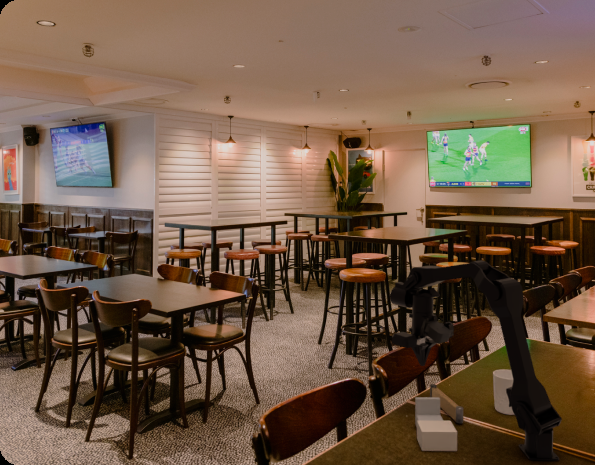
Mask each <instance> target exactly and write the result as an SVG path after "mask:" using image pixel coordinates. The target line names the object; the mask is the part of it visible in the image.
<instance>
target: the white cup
mask: <svg viewBox="0 0 595 465" xmlns="http://www.w3.org/2000/svg"><path fill="white" fill-rule="evenodd" d="M492 377H493V378H492V380H493V381H492V382H493V399H494V408H495V411H497V412H498V413H501V414H504V415H510V416H512V415H513V416H515V414H514V413H513V410H512V407H509V399H508V396H507V393H506V389H507V388H510V387H512V384H513V376H512V372H511V369H503V368H502V369H496V370H493V371H492Z"/></svg>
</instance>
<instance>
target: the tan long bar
mask: <svg viewBox="0 0 595 465" xmlns="http://www.w3.org/2000/svg"><path fill="white" fill-rule="evenodd" d="M429 387H430V388H429V389H430V390H429V397H439V398H440V409H442V411H444V412H445V413H446V414H447V415H448V416H449V417H450V418H451V419H452V420H453V421H455V423H457V424H463V423H464V407H463V406H459V405H458V404H457V403H456V402H455V401H454V400H452V399H451V398H450V397H449V396H448V395H446V394H445V393H444V392H443V391H442V390H441V389H439V388H438V387H437V384H435V383H431V384H430V385H429Z"/></svg>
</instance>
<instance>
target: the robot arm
mask: <svg viewBox="0 0 595 465" xmlns="http://www.w3.org/2000/svg"><path fill="white" fill-rule="evenodd" d="M467 278H468V279H469V278H471V279H472V280H473V282H474V284H475V286H476V288H477V290H479V292H481V293H482V294H483V295H484V296H485V298H486V301H487V303H488V305H489V307H490V309H491V310H492V312H493V314H495V316H496V317H497V318H498V321H499V324H500V330H501V333H502V336H503V337H502V338H503V341H504V345H505V350H506V353H507V359H508V363H509V368H510V370H511V372H512V376H513V384H512V387H510V388H507V389H506V393H507V396H508V399H509V407H512V410H513V413H514V414H515V415H514V416H515V419H516V421H517V425H518V429H520V430H523V431H524V444H523V443H520V444H518V447H519V449H520V450H521V451H522V452H523V454H524V455H525V457H526V458H528V459H529V460H530V461H559V460H560V457H559V456H558V455H557V454H556V453H555V452H554V450H553V448H554V428H556V427H559V426H560V424H561V423H562V421H563V420H562V417H561V415H560V413H558V411H557V410H556V409H555V407H554V406H553V404H552V403H551V402H552V401H551V400H550V398H549V394H548V393H547V390H546V388H545V386H544V384H543V383H541V382H540V380H539V379H538V378H537V375H536V372H535V367H534V364H533V360H532V356H531V351H530V348H529V343H528V339H527V335H526V332H525V327H524V322H523V319H522V312H523V306H524V291H523V290H524V289H523V286H522V284H521V283H520V282H519V280H516V279H515V278H513V277H510V276H509V275H508V274H506V273H505V272H502V271H501V270H499V269H497V268H496V267H493V266H492V265H491V264H489V262H487V261H486V260H476V261H474V260H473V261H470V262H469V263H463V264H462V263H461V264H454V265H449V266H439V265H438V266H437V265H424V266H416V267H412V268H410V270H409V273H408V276H407V277H406V279H405V280H404V282H402V281H398V282H394V287H393V288H392V289H391V291H390V294H389V300H390V302H391V303H392V305H395V306H400V307H404V308H407V309H411V308H412V309H411V310H412V311H411V312H412V313H408V318H410V319H412V320H411V322H412V323H411V327H409V328H408V332H409V333H408V332H406V331H405V332H404V331H400V332H396V333H393V335H391V344H393V345H396V346H398V347H402V348H406V349H412V351H413V353H414V356H415V357H416V359H417V362H418V364H419V365H420V366H421V367H423V366H426V363H427V360H428V357H429V355H430V353H431V349H432V347H434V346H435V345H437V344H439V345H441V344H442V343H448V342H449V339H452V338H453V336H454V335H455V334H454V331H455V329H454V323H452V322H451V321H448V322H447V321H446V322H444V323H443V322H439V321H438V316H437V315H436V314H434V298H437V297H440V296H441V294H440V293H439V292H438V290H436V288H435V287H433V286H435V285H438V284H441V283H443V282H445V281H452V280H453V281H454V280H459V279H467ZM427 287H428V289H427Z"/></svg>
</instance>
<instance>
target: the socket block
mask: <svg viewBox="0 0 595 465" xmlns="http://www.w3.org/2000/svg"><path fill="white" fill-rule="evenodd" d="M416 440H417V441H418V444H419V447H420V449H421V451H422V452H425V451H426V452H427V451H428V452H430V451H431V452H457V451H458V430H457V429H456V427H455V426H454V424H453V422H452V421H451V420H443V421H424V420H417V427H416Z"/></svg>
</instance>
